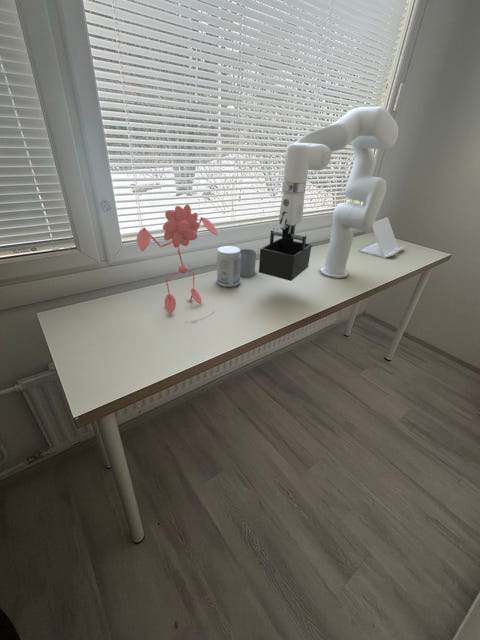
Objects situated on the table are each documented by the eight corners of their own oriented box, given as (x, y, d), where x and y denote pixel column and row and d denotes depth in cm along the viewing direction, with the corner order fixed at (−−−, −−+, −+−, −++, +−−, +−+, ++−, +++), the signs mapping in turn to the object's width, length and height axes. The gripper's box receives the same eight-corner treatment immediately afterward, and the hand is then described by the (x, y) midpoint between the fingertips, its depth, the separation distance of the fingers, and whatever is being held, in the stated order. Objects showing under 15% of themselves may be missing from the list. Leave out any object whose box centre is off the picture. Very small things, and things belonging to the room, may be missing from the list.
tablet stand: (359, 251, 170) (367, 221, 161) (375, 243, 186) (383, 216, 177) (391, 259, 160) (401, 228, 151) (404, 250, 176) (414, 221, 167)
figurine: (143, 312, 99) (127, 204, 80) (207, 294, 112) (206, 198, 94) (162, 334, 88) (149, 215, 70) (231, 311, 102) (234, 207, 84)
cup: (252, 277, 129) (254, 256, 124) (234, 275, 130) (235, 254, 125) (255, 270, 136) (257, 250, 131) (238, 268, 137) (239, 248, 132)
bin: (277, 260, 118) (281, 225, 111) (307, 267, 112) (313, 231, 105) (258, 272, 106) (261, 234, 99) (291, 281, 101) (296, 242, 93)
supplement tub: (235, 277, 128) (236, 244, 121) (242, 286, 121) (244, 252, 113) (214, 279, 125) (214, 246, 118) (220, 288, 118) (221, 253, 110)
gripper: (294, 192, 87) (287, 251, 97) (313, 186, 98) (305, 240, 108) (272, 189, 90) (267, 247, 100) (293, 184, 102) (286, 236, 111)
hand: (287, 243), depth 104 cm, fingers closed on bin
